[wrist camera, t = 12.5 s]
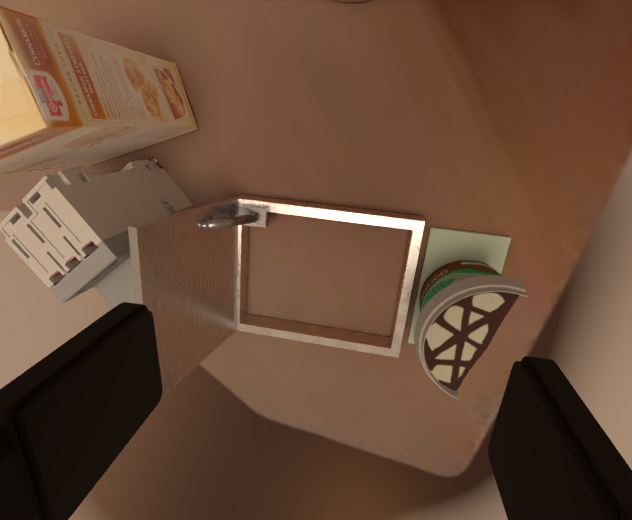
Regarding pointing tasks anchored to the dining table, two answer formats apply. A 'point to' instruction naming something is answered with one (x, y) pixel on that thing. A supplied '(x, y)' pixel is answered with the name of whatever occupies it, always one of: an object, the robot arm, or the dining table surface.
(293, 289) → the dining table surface
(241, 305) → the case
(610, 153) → the dining table surface
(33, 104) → the coffeecake box
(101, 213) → the circuit breaker
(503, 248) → the mat
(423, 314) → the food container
